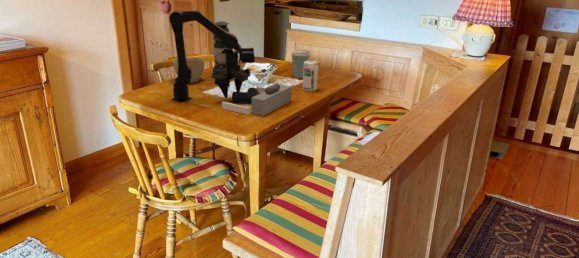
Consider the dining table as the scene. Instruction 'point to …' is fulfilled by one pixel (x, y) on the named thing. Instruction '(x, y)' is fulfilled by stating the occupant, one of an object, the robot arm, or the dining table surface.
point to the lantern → (219, 53)
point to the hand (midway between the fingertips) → (232, 95)
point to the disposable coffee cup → (299, 61)
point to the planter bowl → (192, 67)
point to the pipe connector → (245, 96)
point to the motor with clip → (264, 100)
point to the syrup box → (310, 75)
